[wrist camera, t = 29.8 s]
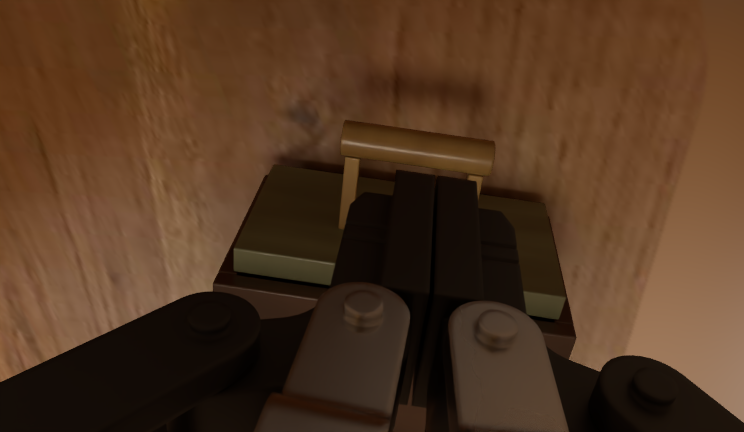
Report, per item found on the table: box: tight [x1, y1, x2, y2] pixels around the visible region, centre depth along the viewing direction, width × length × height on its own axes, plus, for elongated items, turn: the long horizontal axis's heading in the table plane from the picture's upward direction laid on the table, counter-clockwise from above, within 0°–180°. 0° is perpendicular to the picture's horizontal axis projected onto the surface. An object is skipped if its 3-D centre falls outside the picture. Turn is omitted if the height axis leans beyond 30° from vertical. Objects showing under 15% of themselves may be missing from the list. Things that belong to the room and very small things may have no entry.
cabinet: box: [213, 175, 576, 432], centre depth 35 cm, size 15×15×9 cm
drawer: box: [234, 120, 566, 319], centre depth 32 cm, size 18×13×7 cm
